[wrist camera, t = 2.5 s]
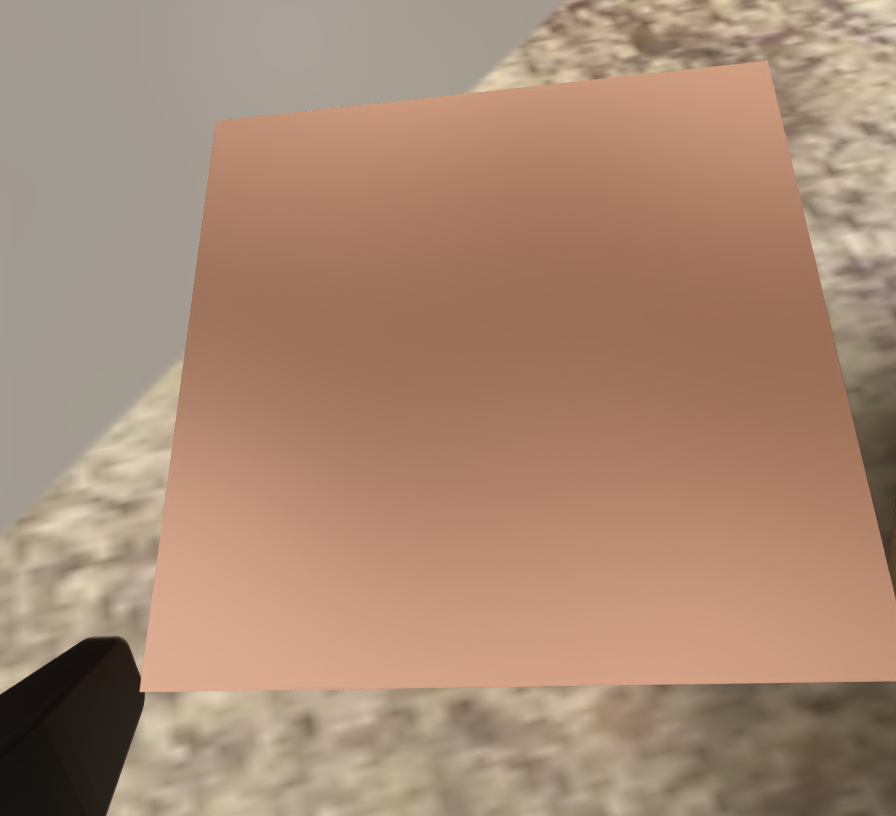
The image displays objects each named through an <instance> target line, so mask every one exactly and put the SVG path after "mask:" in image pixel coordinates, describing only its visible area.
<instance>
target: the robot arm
mask: <svg viewBox="0 0 896 816" xmlns="http://www.w3.org/2000/svg"><path fill="white" fill-rule="evenodd" d="M140 685H141V676H140V674H139V671H138V668H137V666H136V663H135V660H134V658H133V655H132V652H131V649H130V647H129V645H128V643H127V641H126V640H125V639H123V638H122V637H119V636H102V637H90V638H87V639H84V640H83V641H81V642H79V643H78V644H76V645H75V646H73V647H72V648H70V649H69V650H67V651H66V652H64V653H63V654H61V655H60V656H58V657H57V658H55V659H54V660H52V661H51V662H49V663H47V664H46V665H44V666H43V667H41V668H40V669H38V670H37V671H35V672H34V673H32V674H31V675H29V676H28V677H26V678H25V679H23V680H22V681H20V682H19V683H17V684H16V685H14V686H12V687H11V688H9V689H8V690H6V691H5V692H3V693H2V694H0V816H106V815H107V812H108V809H109V806H110V803H111V801H112V798H113V795H114V792H115V789H116V786H117V783H118V780H119V777H120V774H121V771H122V769H123V766H124V763H125V760H126V757H127V754H128V751H129V748H130V745H131V742H132V739H133V736H134V734H135V731H136V728H137V725H138V722H139V719H140V716H141V713H142V710H143V706H144V701H145V692H140Z"/></svg>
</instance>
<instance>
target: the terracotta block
mask: <svg viewBox="0 0 896 816" xmlns="http://www.w3.org/2000/svg"><path fill="white" fill-rule="evenodd" d="M877 681H896V599H895V594H894V590H893V586H892V582H891V577H890V573H889V569H888V565H887V561H886V556H885V552H884V548H883V544H882V540H881V535H880V531H879V527H878V523H877V519H876V514H875V510H874V506H873V502H872V498H871V493H870V489H869V485H868V481H867V477H866V472H865V468H864V464H863V460H862V456H861V451H860V447H859V443H858V439H857V435H856V430H855V426H854V422H853V418H852V414H851V409H850V405H849V401H848V397H847V393H846V388H845V384H844V380H843V376H842V372H841V367H840V363H839V359H838V355H837V351H836V346H835V342H834V338H833V334H832V330H831V325H830V321H829V317H828V313H827V308H826V304H825V300H824V296H823V292H822V287H821V283H820V279H819V275H818V271H817V266H816V262H815V258H814V254H813V250H812V245H811V241H810V237H809V233H808V229H807V224H806V220H805V216H804V212H803V208H802V203H801V199H800V195H799V191H798V187H797V182H796V178H795V174H794V170H793V166H792V161H791V157H790V153H789V149H788V145H787V140H786V136H785V132H784V128H783V124H782V119H781V115H780V111H779V107H778V103H777V98H776V94H775V90H774V86H773V82H772V77H771V73H770V69H769V65H768V61H762V62H753V63H743V64H734V65H725V66H716V67H707V68H698V69H689V70H679V71H670V72H661V73H652V74H643V75H634V76H624V77H615V78H606V79H597V80H588V81H579V82H569V83H560V84H551V85H542V86H533V87H524V88H514V89H505V90H496V91H487V92H478V93H469V94H459V95H450V96H442V97H433V98H423V99H414V100H405V101H396V102H386V103H377V104H368V105H359V106H349V107H340V108H331V109H323V110H314V111H304V112H294V113H285V114H277V115H267V116H258V117H249V118H240V119H230V120H221V121H216V124H215V132H214V138H213V146H212V154H211V161H210V168H209V176H208V184H207V191H206V198H205V206H204V213H203V221H202V228H201V236H200V243H199V251H198V259H197V266H196V273H195V280H194V288H193V295H192V303H191V310H190V318H189V326H188V334H187V341H186V348H185V355H184V363H183V370H182V378H181V385H180V393H179V400H178V408H177V415H176V423H175V430H174V438H173V445H172V453H171V460H170V468H169V475H168V483H167V490H166V498H165V505H164V513H163V520H162V528H161V535H160V543H159V550H158V557H157V565H156V572H155V580H154V587H153V595H152V602H151V610H150V617H149V625H148V632H147V640H146V647H145V655H144V662H143V670H142V677H141V685H140V692H177V691H247V690H317V689H387V688H457V687H527V686H597V685H667V684H737V683H807V682H877Z"/></svg>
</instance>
